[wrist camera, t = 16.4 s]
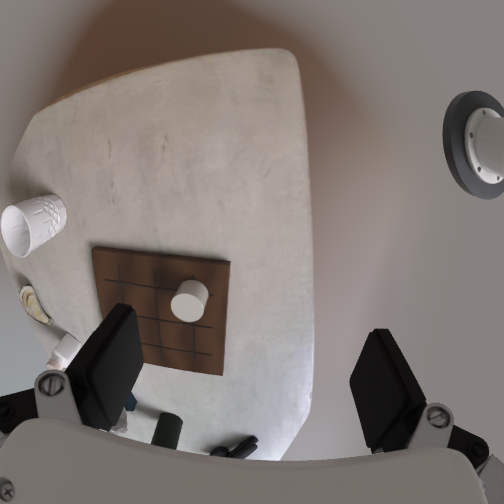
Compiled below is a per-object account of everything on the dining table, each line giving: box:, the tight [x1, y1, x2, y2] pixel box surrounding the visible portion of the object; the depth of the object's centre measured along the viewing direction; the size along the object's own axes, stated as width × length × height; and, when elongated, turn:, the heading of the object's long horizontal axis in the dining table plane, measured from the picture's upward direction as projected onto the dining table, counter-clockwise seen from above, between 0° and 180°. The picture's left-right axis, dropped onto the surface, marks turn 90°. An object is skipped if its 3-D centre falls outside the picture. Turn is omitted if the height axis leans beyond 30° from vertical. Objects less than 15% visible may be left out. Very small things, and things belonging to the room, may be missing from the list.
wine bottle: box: [151, 413, 183, 450], centre depth 42 cm, size 6×6×30 cm
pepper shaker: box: [46, 334, 81, 371], centre depth 44 cm, size 4×4×10 cm
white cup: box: [1, 194, 67, 258], centre depth 33 cm, size 8×8×10 cm
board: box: [92, 246, 231, 376], centre depth 43 cm, size 22×22×2 cm
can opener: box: [209, 437, 258, 459], centre depth 57 cm, size 18×7×6 cm, turn 141°
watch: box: [107, 392, 137, 434], centre depth 48 cm, size 6×8×11 cm
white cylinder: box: [171, 280, 208, 322], centre depth 38 cm, size 5×5×4 cm
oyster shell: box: [19, 284, 53, 325], centre depth 44 cm, size 6×4×10 cm
